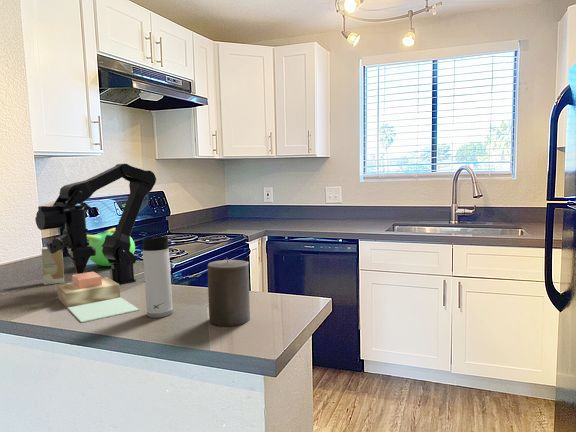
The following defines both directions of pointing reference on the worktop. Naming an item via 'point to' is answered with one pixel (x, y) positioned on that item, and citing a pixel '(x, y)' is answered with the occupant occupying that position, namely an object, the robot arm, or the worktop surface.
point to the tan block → (88, 293)
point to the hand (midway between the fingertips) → (79, 276)
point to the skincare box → (52, 267)
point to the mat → (102, 309)
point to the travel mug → (157, 277)
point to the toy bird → (97, 243)
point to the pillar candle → (228, 292)
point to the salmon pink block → (86, 280)
